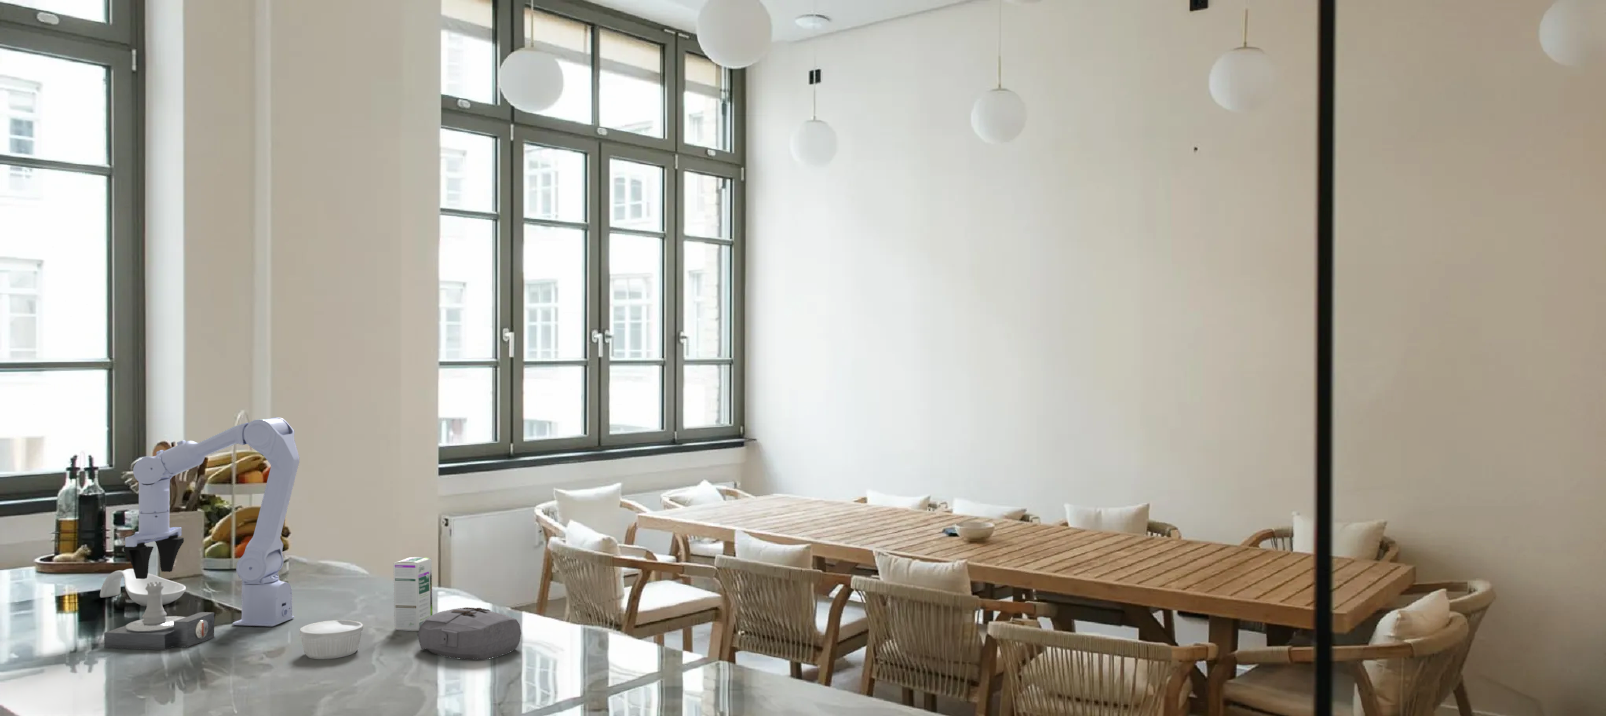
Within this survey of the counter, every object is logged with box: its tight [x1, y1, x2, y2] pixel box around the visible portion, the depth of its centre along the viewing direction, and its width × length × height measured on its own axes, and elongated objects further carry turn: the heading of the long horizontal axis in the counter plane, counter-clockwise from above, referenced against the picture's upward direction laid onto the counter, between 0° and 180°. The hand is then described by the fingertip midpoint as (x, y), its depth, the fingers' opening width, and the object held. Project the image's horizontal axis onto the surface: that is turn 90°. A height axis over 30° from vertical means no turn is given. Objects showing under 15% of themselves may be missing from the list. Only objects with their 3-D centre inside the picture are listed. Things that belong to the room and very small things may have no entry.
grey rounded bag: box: [417, 607, 522, 660], centre depth 215 cm, size 15×8×20 cm
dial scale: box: [103, 611, 215, 651], centre depth 222 cm, size 16×13×5 cm
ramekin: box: [299, 619, 364, 660], centre depth 213 cm, size 11×11×5 cm
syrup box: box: [393, 556, 433, 632], centre depth 233 cm, size 6×6×14 cm
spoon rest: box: [99, 568, 187, 607], centre depth 258 cm, size 24×12×7 cm, turn 65°
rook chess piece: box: [142, 582, 168, 625], centre depth 222 cm, size 4×4×8 cm
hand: (154, 574), depth 236 cm, fingers open, 7 cm apart
